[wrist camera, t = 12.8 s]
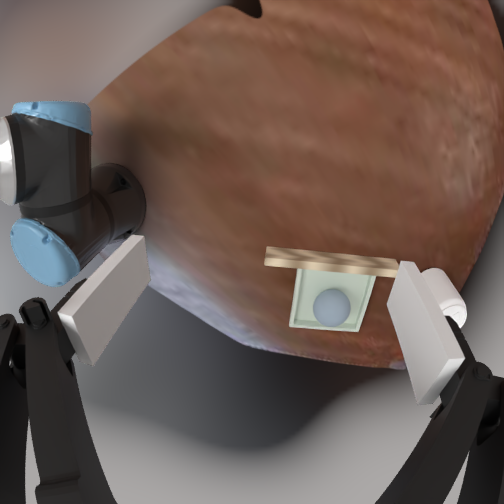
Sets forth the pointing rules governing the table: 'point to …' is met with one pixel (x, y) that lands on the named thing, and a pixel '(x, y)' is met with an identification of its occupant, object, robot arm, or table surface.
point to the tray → (319, 281)
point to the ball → (331, 308)
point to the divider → (331, 262)
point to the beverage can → (445, 295)
